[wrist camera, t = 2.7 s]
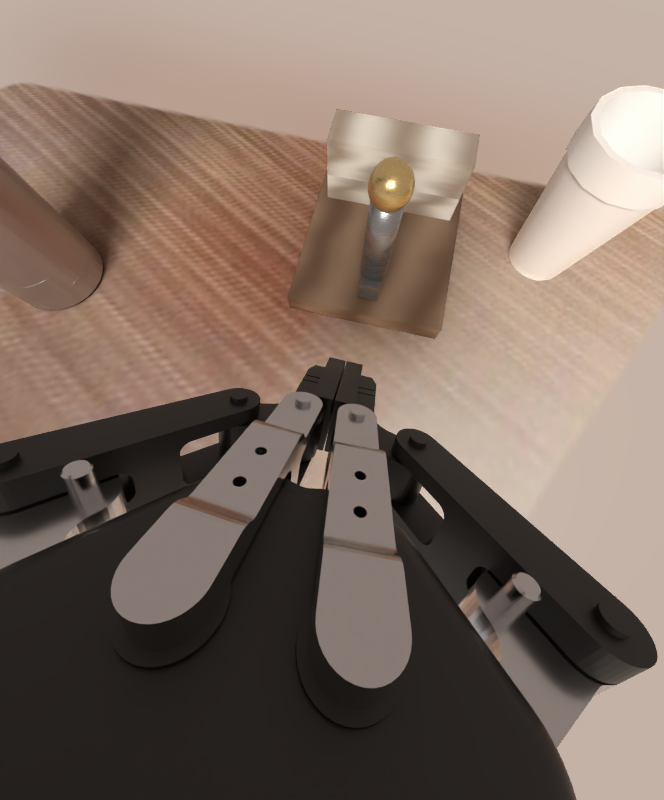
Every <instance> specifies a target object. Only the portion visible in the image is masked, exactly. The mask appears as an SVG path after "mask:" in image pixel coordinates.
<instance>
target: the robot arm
mask: <svg viewBox="0 0 664 800" xmlns="http://www.w3.org/2000/svg"><path fill="white" fill-rule="evenodd" d="M102 272H103V263H102V259H101V256H100V254H99V253H98V251H97V250H96V249H95V248H94V247H93V246H92V245H91V244H90V243H89V242H88V241H87V240H86V239H85V238H84V237H83V236H82V235H81V234H80V233H79V232H78V231H77V230H76V229H74V228H73V227H72V226H71V225H70V224H69V223H68V222H67V221H66V220H65V219H64V218H63V217H62V216H61V215H60V214H59V213H58V212H57V211H56V210H55V209H54V208H53V207H52V206H51V205H50V204H49V203H48V202H47V201H46V200H45V199H43V198H42V197H41V196H40V195H39V194H38V193H37V192H36V191H35V190H34V189H33V188H32V187H31V186H30V185H29V184H28V183H27V182H26V181H25V180H24V179H23V178H22V177H21V176H20V175H18V174H17V173H16V172H15V171H14V170H13V169H12V168H11V167H10V166H9V165H8V164H7V163H6V162H5V161H4V160H3V159H2V158H1V157H0V288H2V289H4V290H6V291H8V292H9V293H11V294H13V295H15V296H16V297H18V298H20V299H22V300H23V301H25V302H27V303H29V304H30V305H32V306H35V307H37V308H40V309H44V310H60V309H65V308H68V307H71V306H74V305H76V304H77V303H79V302H81V301H83V300H84V299H85V298H87V297H88V296H89V295H90V294H91V293H92V292H93V291H94V290H95V288H96V287H97V285H98V283H99V282H100V279H101V276H102ZM345 362H346V361H343V360H339V359H334V358H329V360H328V362H327V365H326V367H321V366H317V365H315V366H313V367H311V368H309V369H308V371H307V373H306V375H305V376H304V378H303V380H302V382H301V383H300V385H299V387H298V389H297V390H296V392H293V393H290V394H288V395H286V396H285V397H284V398H283V400H282V401H281V402H280V403H279V404H261V403H260V397H259V395H258V394H257V393H255V392H254V391H251V390H248V389H243V388H233V389H228V390H224V391H220V392H215V393H211V394H207V395H203V396H198V397H194V398H190V399H186V400H182V401H177V402H173V403H169V404H165V405H161V406H156V407H152V408H148V409H144V410H140V411H135V412H131V413H127V414H123V415H118V416H114V417H110V418H106V419H102V420H97V421H93V422H89V423H85V424H81V425H76V426H72V427H68V428H64V429H60V430H55V431H51V432H47V433H43V434H38V435H34V436H30V437H26V438H22V439H17V440H13V441H9V442H5V443H1V444H0V800H576V797H575V793H574V790H573V787H572V784H571V782H570V778H569V776H568V774H567V771H566V769H565V766H564V763H563V761H562V759H561V757H560V755H559V753H558V750H557V747H558V746H559V744H560V743H561V741H562V740H563V738H564V737H565V736H566V734H567V733H568V731H569V730H570V729H571V727H572V726H573V724H574V723H575V721H576V720H577V719H578V717H579V716H580V714H581V713H582V711H583V710H584V709H585V707H586V706H587V704H588V703H589V702H590V700H591V699H592V697H594V696H596V695H598V694H600V693H602V692H604V691H606V690H607V689H609V688H611V687H613V686H615V685H617V684H619V683H621V682H623V681H625V680H627V679H629V678H631V677H633V676H635V675H637V674H639V673H641V672H643V671H645V670H647V669H649V668H651V667H652V666H654V665H655V663H656V662H657V651H656V647H655V644H654V642H653V640H652V638H651V636H650V634H649V633H648V631H647V629H646V628H645V627H644V625H643V624H642V623H641V622H640V620H639V619H638V618H637V617H636V616H635V615H634V614H633V613H632V611H630V610H629V609H628V608H627V607H626V606H625V605H624V604H623V603H621V601H619V600H618V599H617V598H616V597H615V596H614V595H612V594H611V593H610V592H609V591H608V590H607V589H606V588H604V587H603V586H602V585H601V584H600V583H599V582H598V581H596V580H595V579H594V578H593V577H592V576H591V575H590V574H588V573H587V572H586V571H585V570H584V569H583V568H582V567H580V566H579V565H578V564H577V563H576V562H575V561H573V560H572V559H571V558H570V557H569V556H568V555H567V554H565V553H564V552H563V551H562V550H561V549H560V548H558V547H557V546H556V545H555V544H554V543H553V542H552V541H550V540H549V539H548V538H547V537H546V536H544V534H542V533H541V532H540V531H539V530H538V529H537V528H535V527H534V526H533V525H532V524H531V523H530V522H529V521H527V520H526V519H525V518H524V517H523V516H522V515H521V514H519V513H518V512H517V511H516V510H515V509H514V508H513V507H511V506H510V505H509V504H508V503H507V502H506V501H505V500H503V499H502V498H501V497H500V496H499V495H498V494H496V493H495V492H494V491H493V490H492V489H491V488H490V487H488V486H487V485H486V484H485V483H484V482H483V481H482V480H480V479H479V478H478V477H477V476H476V475H475V474H473V473H472V472H471V471H470V470H469V469H468V468H467V467H465V466H464V465H463V464H462V463H461V462H460V461H459V460H457V459H456V458H455V457H454V456H453V455H452V454H450V453H449V452H448V451H447V450H446V449H445V448H444V447H442V446H441V445H440V444H439V443H438V442H437V441H436V440H434V439H433V438H432V437H431V436H429V435H428V434H426V433H424V432H422V431H419V430H416V429H403V430H400V431H399V432H398V433H397V435H395V434H393V433H391V432H388V431H386V430H385V429H383V428H382V427H381V426H379V425H378V424H377V418H376V415H375V414H374V407H375V393H376V392H375V391H376V383H375V382H374V380H373V379H372V378H370V377H365V376H361V371H362V366H363V365H361V364H357V363H352V362H348V361H347V363H346V366H345ZM344 367H345V369H344ZM217 432H219V443H217V444H214V445H212V446H209V447H206V448H203V449H200V450H197V451H195V452H192V453H189V454H186V455H183V456H180V451H181V449H182V447H183V446H184V445H185V444H187V443H188V442H190V441H193V440H196V439H199V438H202V437H205V436H208V435H211V434H214V433H217ZM327 434H328V436H327ZM326 437H327V441H326ZM325 441H326V446H325V450H324V451H327V452H329V453H328V458H327V462H326V466H325V472H324V479H323V486H322V489H310V488H304V487H302V485H303V483H304V480H305V478H306V476H307V474H308V471H309V469H310V467H311V464H312V460H313V457H314V456H315V453H316V450H317V449H319V450H323V448H324V444H325ZM422 486H423V487H424V488H425V489H426V490H427V491H428V492H429V493H430V494H431V496H432V497H433V498H434V499H435V500H436V501H437V502H438V503H439V504H440V506H441V507H442V509H443V512H444V519H443V518H442V517H441V516H440V515H439V514H438V513H437V512H436V511H435V509H434V508H433V507H432V506H431V505H430V504H429V503H428V502H427V501H426V500H425V498H424V497H423V496H422V495H421V494H420V493H419V492H420V490H421V487H422Z"/></svg>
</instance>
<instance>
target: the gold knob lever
mask: <svg viewBox="0 0 664 800" xmlns="http://www.w3.org/2000/svg"><path fill="white" fill-rule="evenodd" d="M414 187H415V176H414V172H413V170H412V167H411V166H410V164H409V163H408V162H407V161H406V160H404V159H403V158H400V157H388V158H385V159H383V160H382V161H380V162H379V163H378V164H377V165H376V166H375V168H374V169H373V171H372V173H371V175H370V178H369V182H368V195H369V199H370V204H369V211H368V218H367V225H366V231H365V238H364V245H363V252H362V259H361V266H360V271H361V274H362V275H361V279H360V283H359V289H358V295H357V297H361V298H366V299H371V300H375V301H376V300H377V297H378V293H379V289H380V285H381V280H382V278H383V277H384V276H385V275H386V272H387V269H388V265H389V261H390V258H391V254H392V251H393V247H394V244H395V240H396V236H397V233H398V229H399V226H400V222H401V219H402V215H403V211H404V208H405V206H406V205H407V204H408V202H409V201H410V199H411V197H412V195H413V192H414Z"/></svg>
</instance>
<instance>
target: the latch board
mask: <svg viewBox="0 0 664 800" xmlns="http://www.w3.org/2000/svg"><path fill="white" fill-rule="evenodd" d="M479 137H480V135H478V134H473V133H467V132H461V131H456V130H450V129H444V128H439V127H434V126H428V125H423V124H417V123H411V122H406V121H400V120H395V119H389V118H383V117H378V116H373V115H367V114H361V113H356V112H350V111H345V110H339V109H337V110H336V113H335V116H334V119H333V122H332V126H331V128H330V132H329V135H328V138H327V171H326V175H325V178H324V181H323V184H322V188H321V191H320V194H319V197H318V201H317V204H316V207H315V210H314V213H313V217H312V220H311V223H310V226H309V230H308V233H307V236H306V239H305V243H304V246H303V249H302V252H301V256H300V259H299V262H298V265H297V269H296V272H295V275H294V278H293V282H292V285H291V288H290V291H289V294H288V300H289V304H290V308H295V309H300V310H304V311H309V312H314V313H318V314H323V315H327V316H332V317H337V318H341V319H346V320H351V321H355V322H360V323H365V324H369V325H374V326H378V327H383V328H388V329H392V330H397V331H402V332H406V333H411V334H415V335H420V336H425V337H429V338H434V339H435V337H436V336H437V335H438V333H439V332H440V331H441V329H442V322H443V316H444V310H445V303H446V297H447V291H448V284H449V278H450V272H451V266H452V259H453V253H454V247H455V240H456V234H457V228H458V222H459V215H460V209H461V203H462V196H463V191H464V189H465V187H466V185H467V182H468V180H469V178H470V176H471V174H472V172H473V170H474V168H475V163H476V157H477V150H478V143H479ZM388 157H400V158H403V159H404V160H406V161H407V162H408V163H409V164H410V166H411V167H412V170H413V172H414V176H415V187H414V192H413V195H412V197H411V199H410V201H409V202H408V204H407V205H406V206H405V208H404V211H403V215H402V219H401V222H400V226H399V229H398V233H397V236H396V240H395V244H394V247H393V251H392V254H391V258H390V261H389V265H388V269H387V272H386V275H385V276H384V277H383V278H382V280H381V285H380V289H379V293H378V297H377V300H376V301H375V300H371V299H366V298H361V297H357V295H358V289H359V283H360V279H361V275H362V274H361V271H360V266H361V259H362V252H363V245H364V238H365V231H366V225H367V218H368V211H369V204H370V199H369V195H368V182H369V178H370V175H371V173H372V171H373V169H374V168H375V166H376V165H377V164H378V163H379V162H380V161H382V160H383V159H385V158H388Z"/></svg>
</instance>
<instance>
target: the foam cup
mask: <svg viewBox="0 0 664 800" xmlns="http://www.w3.org/2000/svg"><path fill="white" fill-rule="evenodd" d="M662 206H664V89H661V88H656V87H652V86H648V85H642V86H629V87H620V88H618V89H616V90H614V91H612V92H610V93H608V94H606V95H604V96H602V97H601V98H600V99H599V100H598V102H597V103H596V104H595V106H594V107H593V108H592V110H591V111H590V113H589V114H588V116H587V117H586V118H585V120H584V121H583V122H582V124H581V125H580V127H579V128H578V129H577V131H576V132H575V134H574V136H573V138H572V139H571V141H570V143H569V145H568V146H567V152H566V154H565V155H564V157H563V159H562V160H561V162H560V164H559V165H558V167H557V169H556V171H555V172H554V174H553V176H552V177H551V179H550V181H549V182H548V184H547V186H546V187H545V189H544V191H543V192H542V194H541V196H540V197H539V199H538V201H537V203H536V204H535V206H534V208H533V209H532V211H531V213H530V214H529V216H528V218H527V219H526V221H525V223H524V224H523V226H522V228H521V229H520V231H519V233H518V235H517V236H516V238H515V240H514V241H513V243H512V245H511V247H510V249H509V260H510V261H511V263H512V265H513V266H514V268H515V270H517V271H518V272H519V273H521V274H522V275H523V276H525V277H527V278H530V279H534V280H537V281H540V280H550V279H551V278H553V277H555V276H556V275H558V274H559V273H561V272H563V271H564V270H566V269H567V268H569V267H570V266H572V265H573V264H575V263H576V262H578V261H579V260H581V259H582V258H583V257H585V256H586V255H588V254H589V253H591V252H592V251H594V250H595V249H597V248H598V247H600V246H601V245H603V244H604V243H606V242H607V241H609V240H610V239H612V238H613V237H615V236H616V235H618V234H619V233H621V232H622V231H623V230H625V229H626V228H628V227H629V226H631V225H632V224H634V223H635V222H637V221H638V220H640V219H641V218H643V217H644V216H646V215H647V214H649V213H650V212H652V211H653V210H655V209H656V208H660V207H662Z"/></svg>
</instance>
